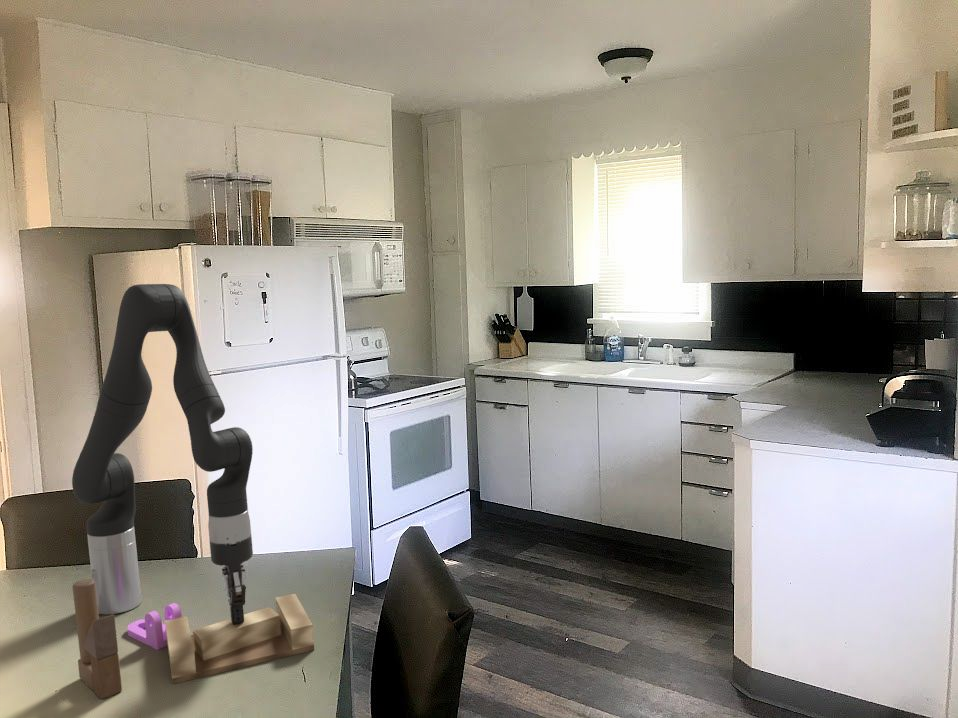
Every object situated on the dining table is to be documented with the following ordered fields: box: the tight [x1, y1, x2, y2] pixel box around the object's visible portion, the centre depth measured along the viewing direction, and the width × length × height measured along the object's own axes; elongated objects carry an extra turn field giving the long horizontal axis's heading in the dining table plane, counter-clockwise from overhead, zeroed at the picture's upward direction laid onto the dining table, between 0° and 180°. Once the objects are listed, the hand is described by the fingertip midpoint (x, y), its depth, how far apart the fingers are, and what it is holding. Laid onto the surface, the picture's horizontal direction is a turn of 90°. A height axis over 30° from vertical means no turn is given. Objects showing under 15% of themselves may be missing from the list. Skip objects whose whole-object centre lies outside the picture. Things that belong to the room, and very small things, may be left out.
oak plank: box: [192, 606, 281, 661], centre depth 151 cm, size 15×5×4 cm, turn 127°
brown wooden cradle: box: [164, 593, 315, 685], centre depth 151 cm, size 25×16×5 cm, turn 114°
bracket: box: [127, 602, 183, 651], centre depth 158 cm, size 13×6×7 cm, turn 52°
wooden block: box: [72, 578, 123, 700], centre depth 139 cm, size 4×11×18 cm, turn 45°
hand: (237, 622), depth 151 cm, fingers closed
